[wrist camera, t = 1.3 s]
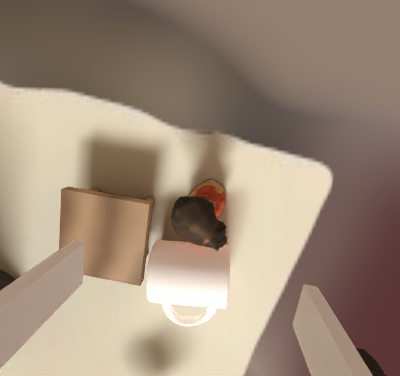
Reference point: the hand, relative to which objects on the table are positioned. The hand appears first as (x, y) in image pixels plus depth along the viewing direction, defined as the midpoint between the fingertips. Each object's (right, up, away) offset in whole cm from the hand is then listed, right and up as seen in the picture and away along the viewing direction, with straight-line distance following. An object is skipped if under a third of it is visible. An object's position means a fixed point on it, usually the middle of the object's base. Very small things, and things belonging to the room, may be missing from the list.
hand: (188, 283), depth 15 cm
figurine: (+2, +4, +21) cm, 21 cm away
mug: (0, -7, +23) cm, 24 cm away
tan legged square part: (-11, 0, +22) cm, 25 cm away
